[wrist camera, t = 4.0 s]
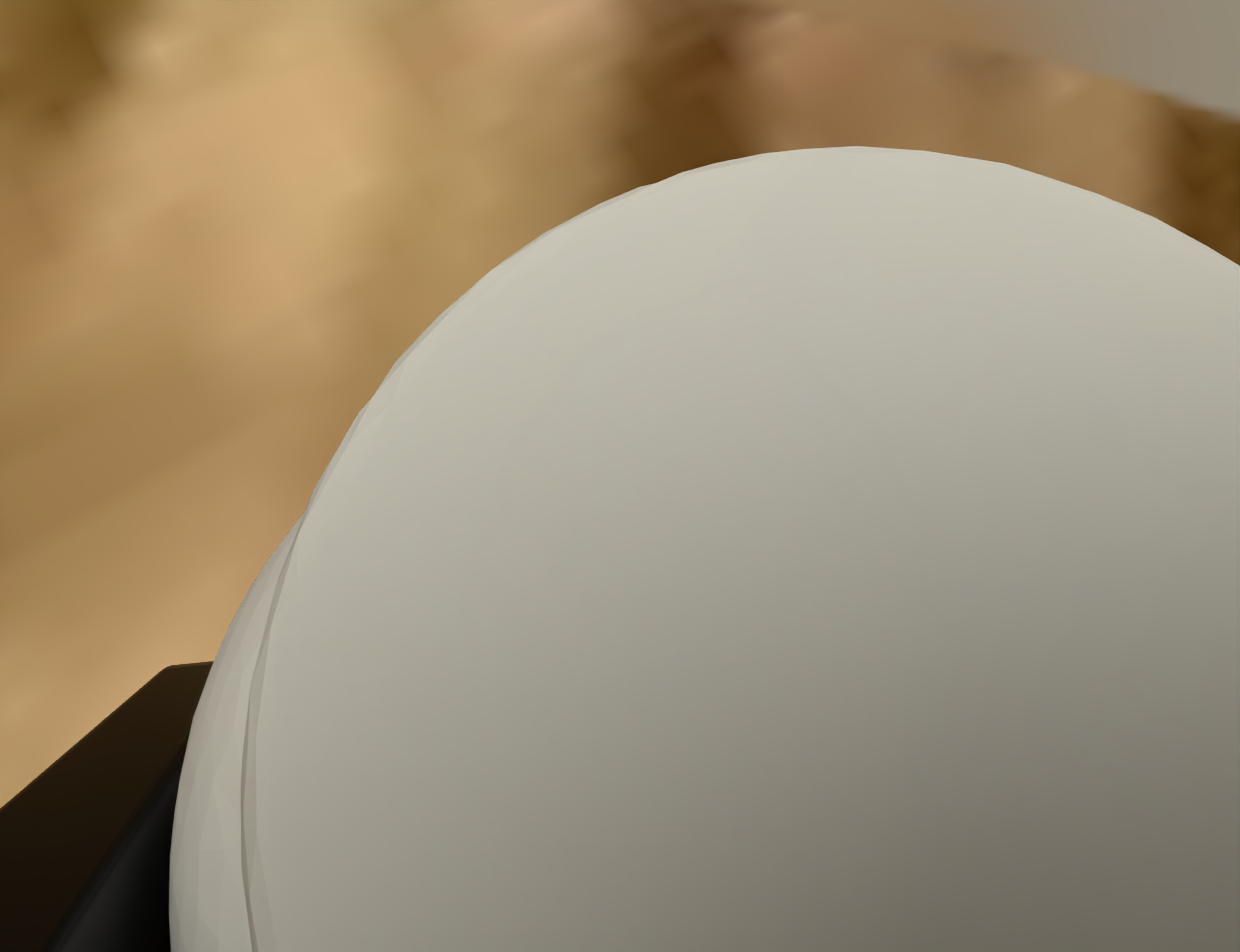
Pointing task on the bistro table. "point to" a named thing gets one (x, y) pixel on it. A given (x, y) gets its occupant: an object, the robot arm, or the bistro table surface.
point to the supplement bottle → (759, 594)
